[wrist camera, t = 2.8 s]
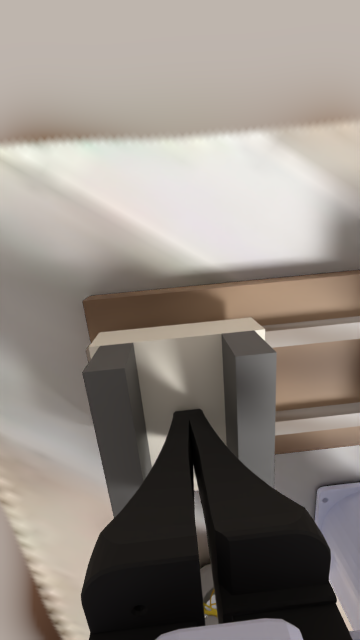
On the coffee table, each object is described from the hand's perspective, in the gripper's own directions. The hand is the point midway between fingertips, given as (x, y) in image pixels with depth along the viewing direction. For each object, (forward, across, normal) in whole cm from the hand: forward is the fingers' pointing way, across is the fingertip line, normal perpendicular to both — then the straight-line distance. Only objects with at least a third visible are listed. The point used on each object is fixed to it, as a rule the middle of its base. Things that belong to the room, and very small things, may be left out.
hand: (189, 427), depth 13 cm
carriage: (+2, 0, 0) cm, 2 cm away
